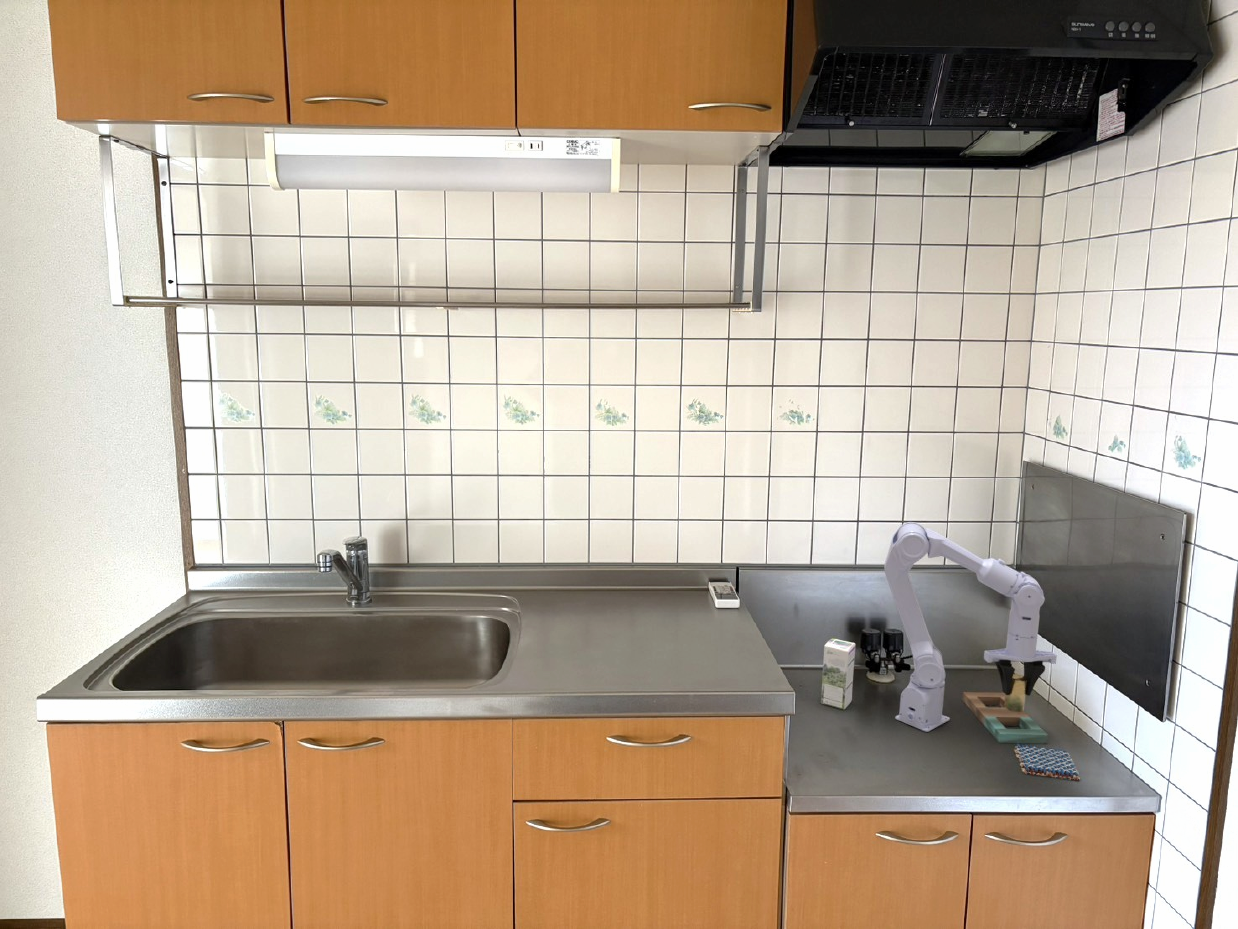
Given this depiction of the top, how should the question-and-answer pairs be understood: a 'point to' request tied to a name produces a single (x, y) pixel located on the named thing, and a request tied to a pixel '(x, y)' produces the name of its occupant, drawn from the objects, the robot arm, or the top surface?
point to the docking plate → (1003, 719)
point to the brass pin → (1016, 694)
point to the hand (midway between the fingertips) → (1016, 693)
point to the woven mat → (1046, 762)
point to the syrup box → (838, 673)
